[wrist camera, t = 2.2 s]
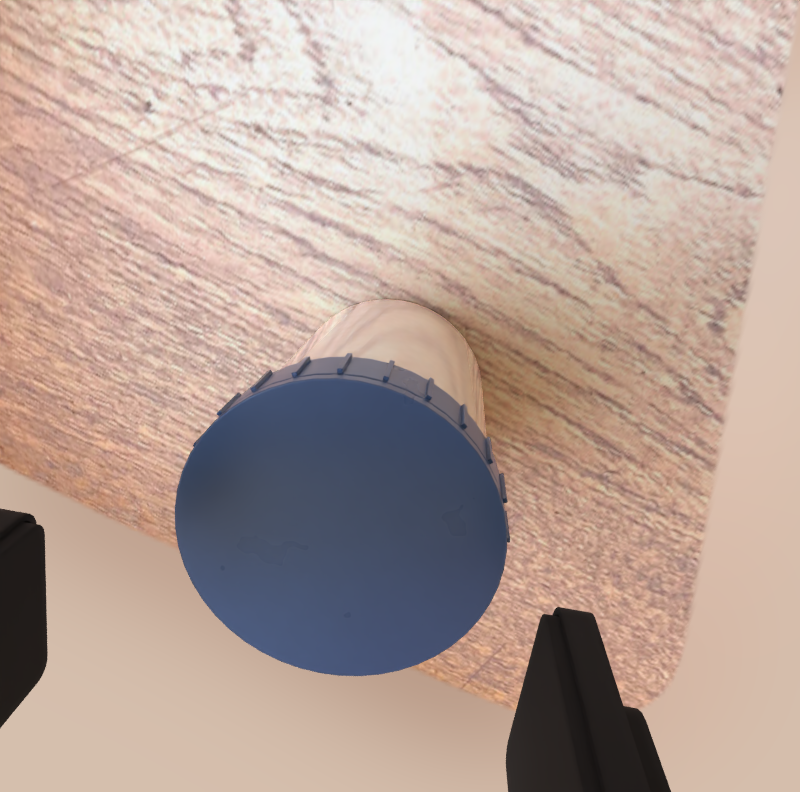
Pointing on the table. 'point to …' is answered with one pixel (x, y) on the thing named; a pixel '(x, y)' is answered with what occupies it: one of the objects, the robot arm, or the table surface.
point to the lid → (344, 517)
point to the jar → (403, 346)
